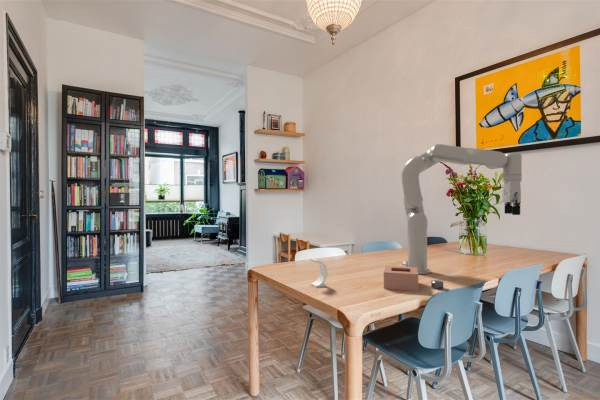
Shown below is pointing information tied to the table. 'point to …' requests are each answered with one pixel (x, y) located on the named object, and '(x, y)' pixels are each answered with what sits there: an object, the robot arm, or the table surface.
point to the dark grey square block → (437, 284)
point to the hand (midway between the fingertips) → (512, 214)
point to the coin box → (401, 278)
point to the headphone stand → (322, 276)
